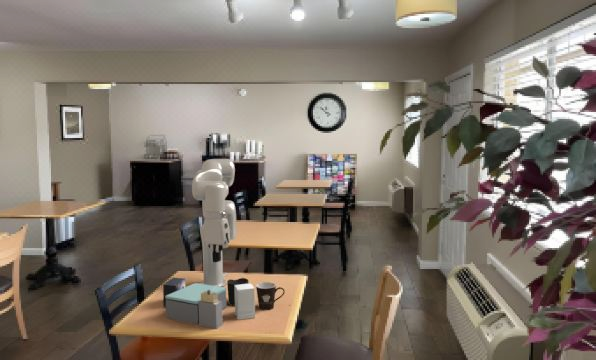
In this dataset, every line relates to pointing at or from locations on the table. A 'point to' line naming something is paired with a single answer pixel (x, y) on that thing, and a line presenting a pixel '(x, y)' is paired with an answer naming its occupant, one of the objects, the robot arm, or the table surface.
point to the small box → (172, 287)
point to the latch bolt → (209, 296)
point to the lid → (193, 292)
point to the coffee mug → (267, 295)
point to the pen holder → (231, 288)
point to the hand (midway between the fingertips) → (216, 261)
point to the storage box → (197, 311)
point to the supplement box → (244, 301)
